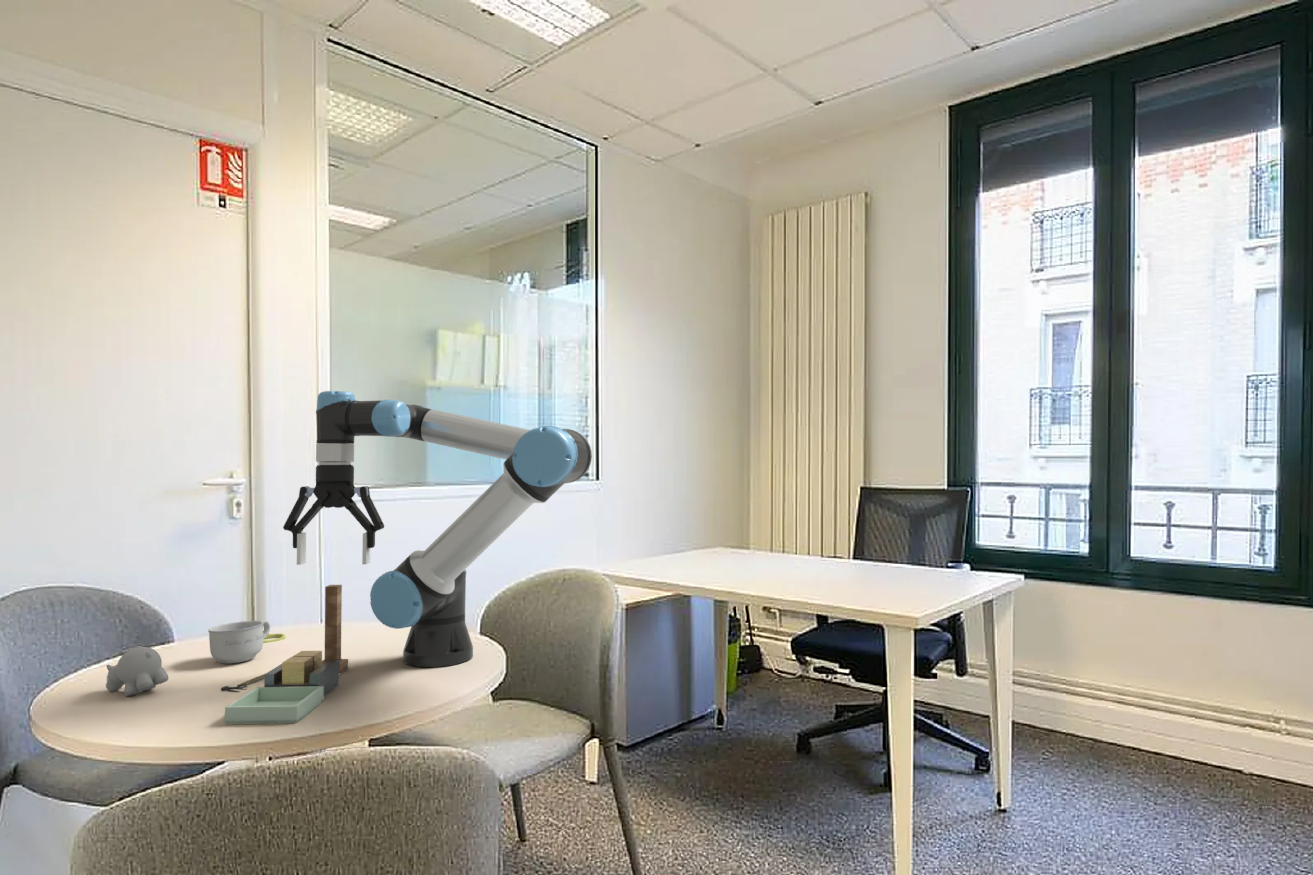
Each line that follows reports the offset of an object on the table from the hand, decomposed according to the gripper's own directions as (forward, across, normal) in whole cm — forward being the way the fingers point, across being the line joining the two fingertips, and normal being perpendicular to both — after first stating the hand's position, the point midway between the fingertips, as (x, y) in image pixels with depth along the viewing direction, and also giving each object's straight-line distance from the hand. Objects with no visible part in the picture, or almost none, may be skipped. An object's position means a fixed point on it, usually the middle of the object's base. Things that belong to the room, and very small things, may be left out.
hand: (333, 563), depth 162 cm
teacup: (+23, +24, -11) cm, 35 cm away
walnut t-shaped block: (+23, 0, 0) cm, 23 cm away
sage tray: (+23, 0, +26) cm, 35 cm away
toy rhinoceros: (+23, +33, +13) cm, 42 cm away
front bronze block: (+20, 0, +18) cm, 26 cm away
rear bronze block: (+20, 0, +13) cm, 24 cm away
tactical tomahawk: (+23, +11, +4) cm, 26 cm away
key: (+23, +28, -31) cm, 48 cm away
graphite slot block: (+23, 0, +15) cm, 27 cm away
